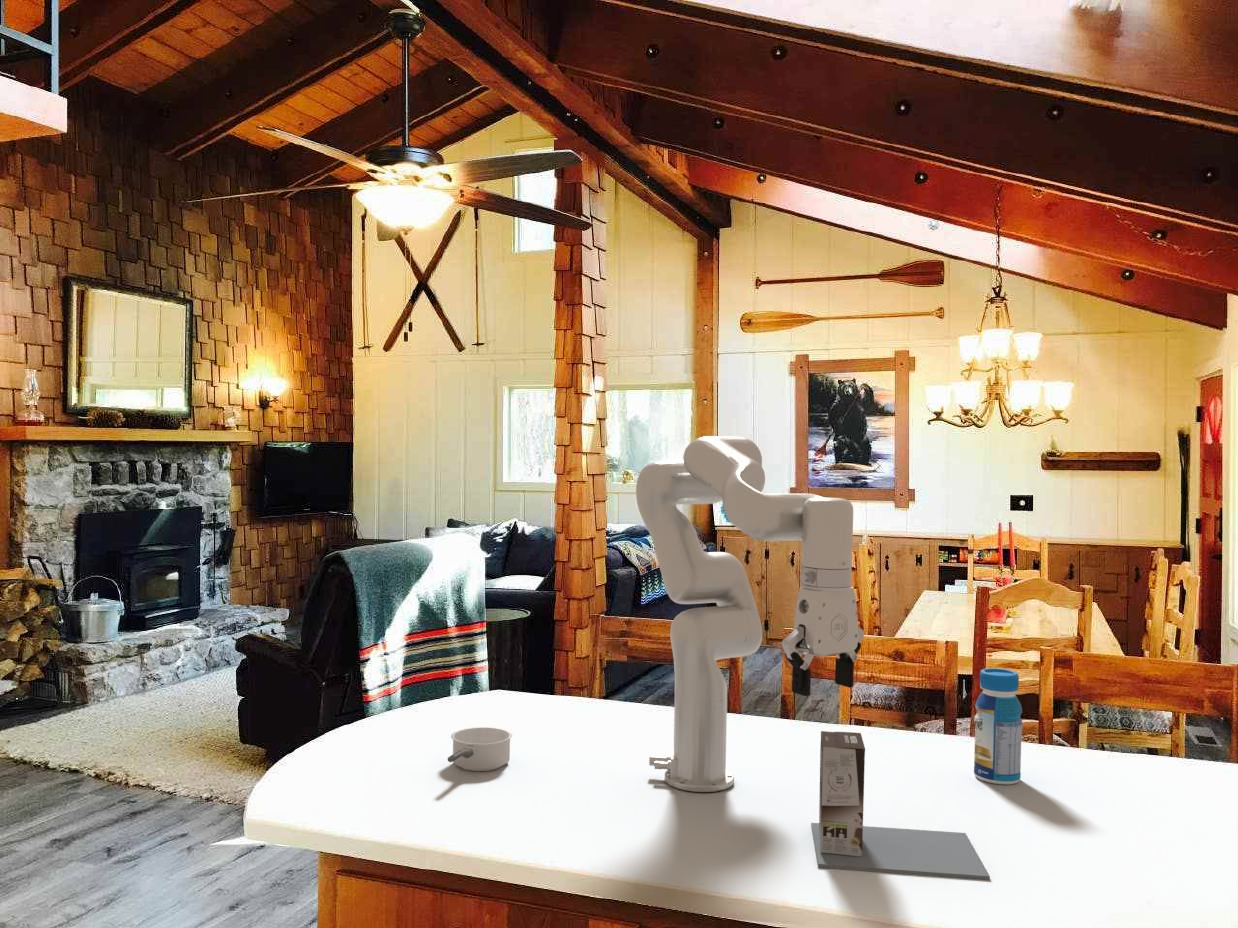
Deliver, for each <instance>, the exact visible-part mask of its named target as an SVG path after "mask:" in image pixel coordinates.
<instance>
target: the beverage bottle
mask: <svg viewBox="0 0 1238 928" xmlns="http://www.w3.org/2000/svg"><path fill="white" fill-rule="evenodd" d="M1019 679H1020V677H1019V673H1017V672H1016V671H1013V670H1010V669H1007V668H1006V669H1004V668H998V667H997V668H996V667H995V668H994V667H993V668H989V667H988V668H982V669H981V670H980V673H979V686H980V689H982V691H981V692H980V694H979V696H978V697H977V699H976V702H975V704H974V706H975V710H976V714H975V715H974V718H973V720H974V721H973V722H974V761H973V762H974V763H973V764H974V765H973V773H974V776H975V777H976V778H977V779H979V780H980V781H983V782H986V783H990V784H993V785H1007V786H1008V785H1015V784H1018V783H1019V782H1020V781H1021V778H1022V777H1021V776H1022V775H1021V774H1022V773H1021V760H1022V733H1023V732H1022V731H1023V727H1024V726H1023V721H1022V718H1021V715H1022V714H1023V708H1022V704H1021V702H1020V700H1019V699H1018V696H1017V695H1016V693H1017V692H1018V691H1019V685H1020V684H1019V683H1020V680H1019Z"/></svg>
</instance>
